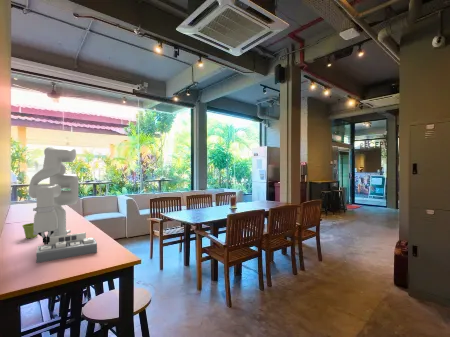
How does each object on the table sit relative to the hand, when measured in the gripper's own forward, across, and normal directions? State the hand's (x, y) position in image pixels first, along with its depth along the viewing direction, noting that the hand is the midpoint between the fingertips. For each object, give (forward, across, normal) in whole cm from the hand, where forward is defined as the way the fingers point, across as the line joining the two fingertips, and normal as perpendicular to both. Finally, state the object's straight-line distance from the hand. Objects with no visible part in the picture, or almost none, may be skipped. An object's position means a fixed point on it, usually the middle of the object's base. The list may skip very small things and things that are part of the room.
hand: (46, 243), depth 131 cm
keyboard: (+7, +10, -1) cm, 12 cm away
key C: (+5, +13, -1) cm, 14 cm away
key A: (+5, 0, -1) cm, 5 cm away
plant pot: (+8, -10, +48) cm, 49 cm away
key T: (+4, +19, -1) cm, 20 cm away
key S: (+4, +6, -1) cm, 7 cm away
